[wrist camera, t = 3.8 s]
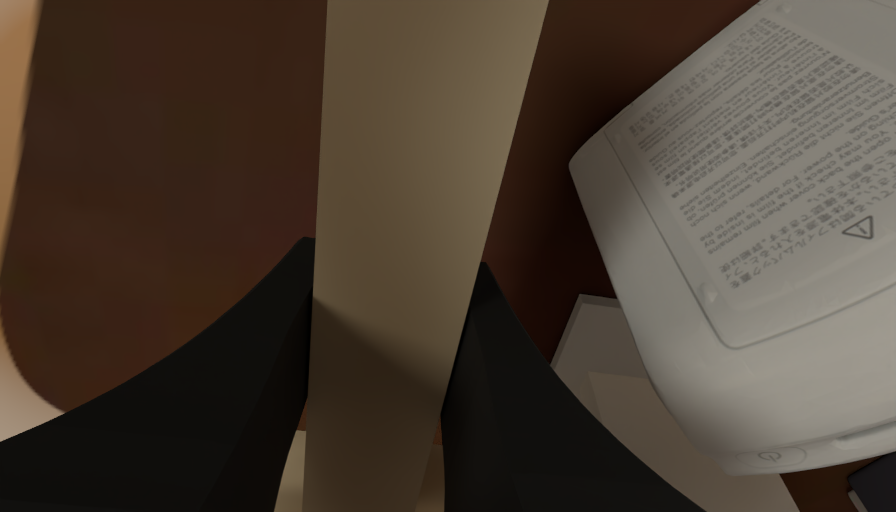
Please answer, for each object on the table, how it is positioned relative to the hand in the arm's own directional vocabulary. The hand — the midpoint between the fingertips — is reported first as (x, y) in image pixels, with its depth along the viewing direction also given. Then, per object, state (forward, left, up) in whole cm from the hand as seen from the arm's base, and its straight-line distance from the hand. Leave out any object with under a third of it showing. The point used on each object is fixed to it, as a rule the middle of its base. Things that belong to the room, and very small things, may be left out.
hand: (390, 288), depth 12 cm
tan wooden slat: (0, 0, -2) cm, 2 cm away
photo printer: (-10, -2, -9) cm, 13 cm away
